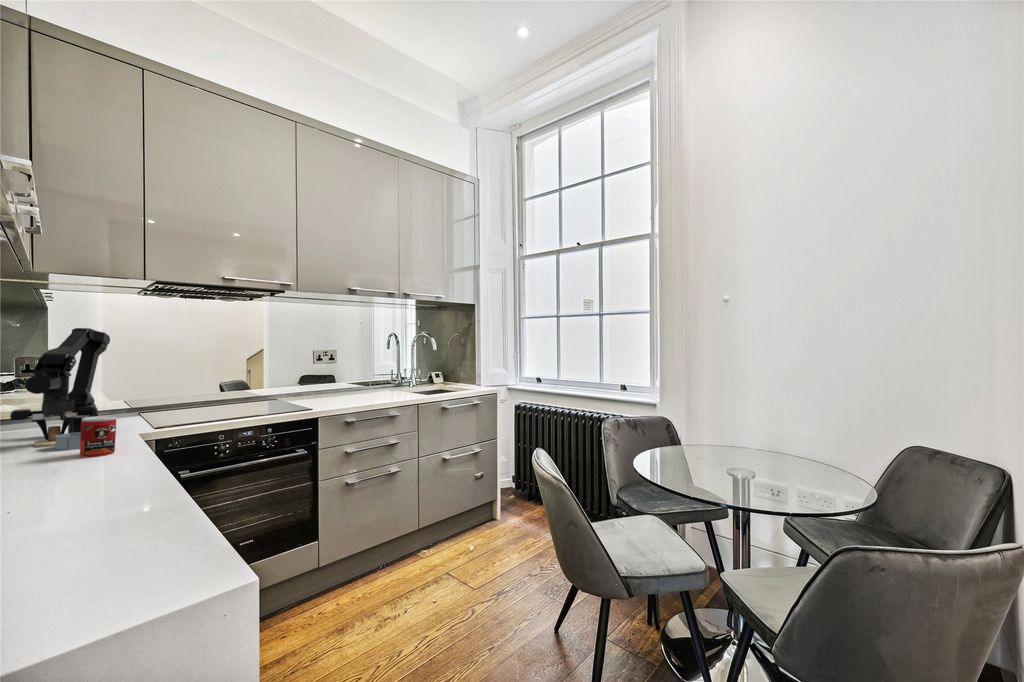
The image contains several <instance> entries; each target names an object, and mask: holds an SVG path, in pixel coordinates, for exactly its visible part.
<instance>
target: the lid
mask: <svg viewBox="0 0 1024 682" xmlns="http://www.w3.org/2000/svg"><path fill="white" fill-rule="evenodd" d="M61 429H62V425H51V426H47V431H48V440H46V439H40V440H36V441H34V442H33V446H34V447H35V446H51V447H55V439H56V435H60V433H61Z"/></svg>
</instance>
